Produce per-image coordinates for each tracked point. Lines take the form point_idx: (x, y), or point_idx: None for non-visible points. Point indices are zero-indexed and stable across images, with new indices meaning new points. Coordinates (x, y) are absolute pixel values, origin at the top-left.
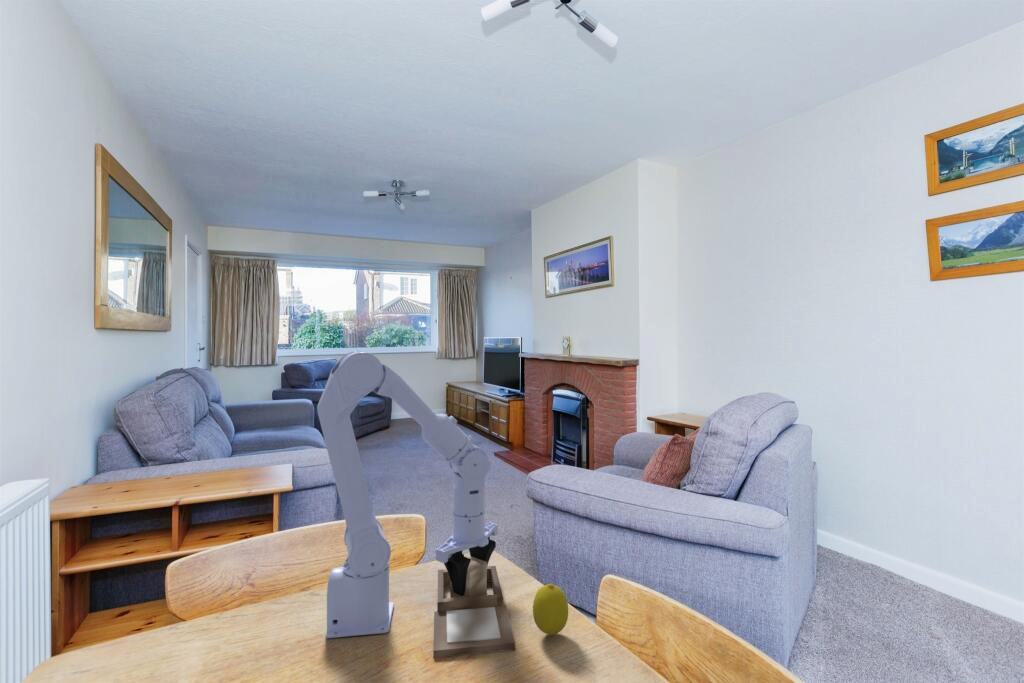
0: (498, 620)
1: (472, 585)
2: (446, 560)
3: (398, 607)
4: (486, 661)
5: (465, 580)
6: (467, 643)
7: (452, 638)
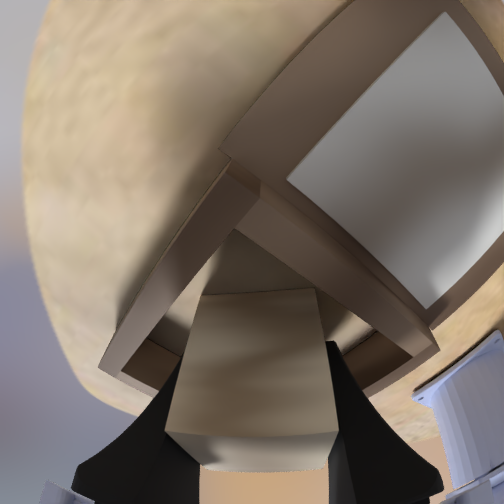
0: (358, 85)
1: (306, 357)
2: (479, 492)
3: (411, 384)
4: (496, 35)
5: (338, 394)
6: None
7: None
